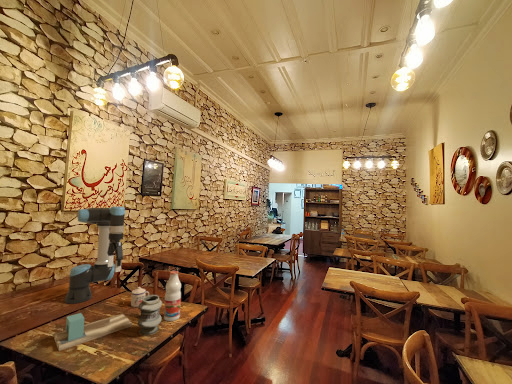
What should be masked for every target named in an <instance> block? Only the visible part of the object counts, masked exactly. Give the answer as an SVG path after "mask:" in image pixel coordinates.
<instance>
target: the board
mask: <svg viewBox="0 0 512 384" xmlns="http://www.w3.org/2000/svg"><path fill="white" fill-rule="evenodd" d="M132 326H133V322H132V321H131V320H130V319H129V318H128V317H127V316H126V315H125V314H123V313H120V314H117V315H113V316H110V317H107V318H103V319H100V320H97V321H93V322H90V323H86V324H84V333H83V336H82V337H79V338H76V339H73V340H70V341H68V331H66V330H63V331H59V332H56V333H54V334H53V339H54V342H55V345H56V348H57V350H58V352H61V351H64V350H67V349H70V348H73V347H75V346H78V345H81V344H83V343H84V344H85V343H87V342H89V341H93V340H96V339H98V338H102V337H104V336H107V335H110V334H113V333H117V332H119V331H122V330H125V329H128V328H131V327H132Z"/></svg>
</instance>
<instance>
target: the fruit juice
mask: <svg viewBox="0 0 512 384" xmlns="http://www.w3.org/2000/svg"><path fill="white" fill-rule="evenodd" d="M181 288H182V283H181V280H180V279H179V270H172V271H170V273H169V278H168V281H167V283H166V284H165V294H164V308H163V319H164V321H166V322H174V321H177V320H178V319H180V317H181V306H182V305H181V304H182V302H181V301H182V291H181Z"/></svg>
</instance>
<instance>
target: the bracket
mask: <svg viewBox="0 0 512 384" xmlns="http://www.w3.org/2000/svg"><path fill="white" fill-rule="evenodd" d="M84 325H85V317H84V315H83V313H82V312H80V313H76V314H71V315H68V316H66V323H65V331H68V341H70V340H73V339H76V338H79V337H82V336H83V333H84Z"/></svg>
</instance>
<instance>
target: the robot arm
mask: <svg viewBox="0 0 512 384" xmlns="http://www.w3.org/2000/svg"><path fill="white" fill-rule="evenodd" d="M125 210H126V208H125V206H111V207H89V208H80V209H78V212H77V222H79V223H85V224H91V225H92V224H93V225H95V224H96V227H97V228H98V237H97V238H98V239H97V256H96V261H95V262H94V263H93V265H91V263H90V264H89V263H87V264H86V263H84V264H80V265H76V266H74V267H72V268H71V269H70V272H69V283H68V291H67V292H66V296H65V298H64V303H66V304H69V305H70V304H71V305H72V304H79V303H83V302H87V301H89V300H91V299H92V291H91V288H90V284H92V283H97V282H99V283H100V282H105V281H109V280H111V279H113V277H114V276H115V275H114V274H115V273H117V272H118V273H119V272H121V271H122V261H123V259H124V254H123V253H124V252H123V242H122V241H121V240H123V239H124V231H125V214H126V211H125ZM114 256H115V257H114ZM114 258H115V263H114Z"/></svg>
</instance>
